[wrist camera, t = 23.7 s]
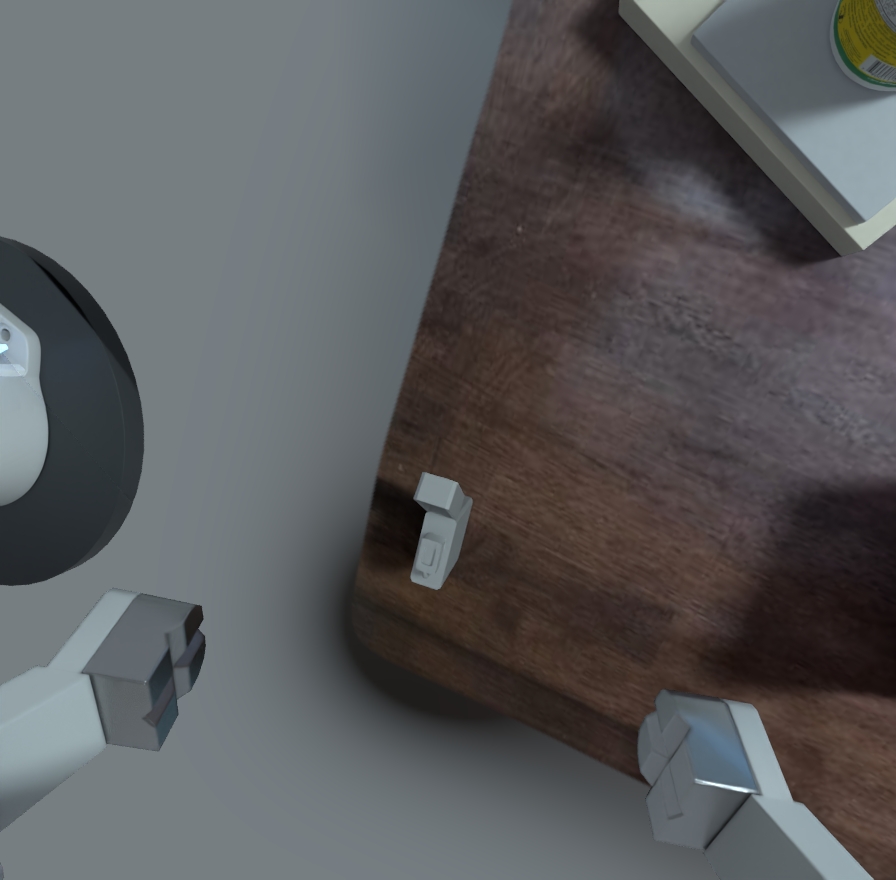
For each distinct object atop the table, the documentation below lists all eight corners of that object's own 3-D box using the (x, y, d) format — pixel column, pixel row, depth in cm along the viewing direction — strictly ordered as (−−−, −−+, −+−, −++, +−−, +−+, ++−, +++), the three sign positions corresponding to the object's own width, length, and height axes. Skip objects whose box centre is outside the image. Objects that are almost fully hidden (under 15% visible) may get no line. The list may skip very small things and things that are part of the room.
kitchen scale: (617, 13, 29) (620, -24, 26) (841, -226, 25) (875, -303, 22) (841, 257, 28) (871, 248, 25) (1100, 48, 25) (1171, 8, 22)
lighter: (457, 561, 36) (420, 623, 28) (430, 552, 36) (386, 611, 29) (485, 451, 34) (454, 485, 27) (457, 442, 35) (418, 474, 27)
